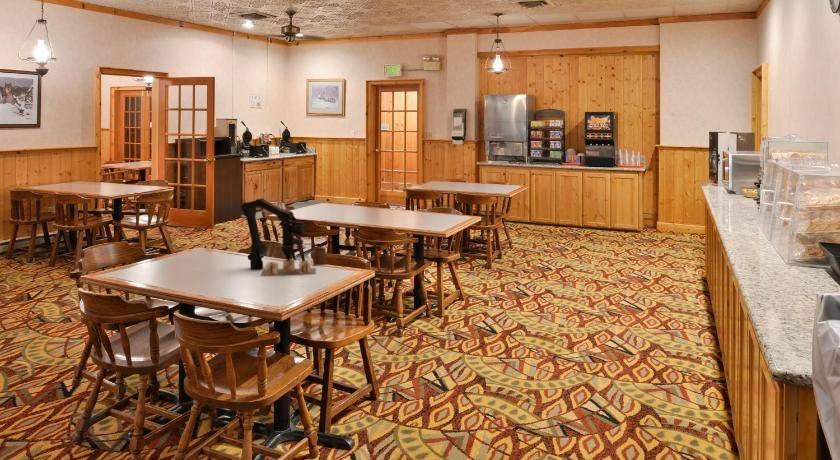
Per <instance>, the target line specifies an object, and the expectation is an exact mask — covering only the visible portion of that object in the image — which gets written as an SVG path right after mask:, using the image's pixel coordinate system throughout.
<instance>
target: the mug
mask: <svg viewBox="0 0 840 460" xmlns="http://www.w3.org/2000/svg"><path fill="white" fill-rule="evenodd" d="M310 258H311V259H312V261H313V262H312V263H313V265H317V266H321V265H322V266H323V265H326V264H327V250H326V248H324V247H318V248H317V247H316V248H313V249H312V250H311V252H310Z"/></svg>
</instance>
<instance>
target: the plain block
mask: <svg viewBox="0 0 840 460" xmlns="http://www.w3.org/2000/svg"><path fill="white" fill-rule="evenodd" d="M282 269H283V272H294V270H295V269H296V268H295V259H294V258H293V259H291V258H290V261H287V259H283V261H282Z"/></svg>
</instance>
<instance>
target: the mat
mask: <svg viewBox="0 0 840 460" xmlns="http://www.w3.org/2000/svg"><path fill="white" fill-rule="evenodd" d="M316 269H317V267H315V268H314V267H313V268H311V267H310V274H299V268H295V270H294V272H283V268H281V269H280V268H278V274H277V275H266V269H262V271H261V272H260V273H261V274H260V277H276V276H277V277H278V276H283V277H284V276H305V275H316V273H317V271H316Z"/></svg>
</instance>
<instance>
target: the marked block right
mask: <svg viewBox="0 0 840 460" xmlns="http://www.w3.org/2000/svg"><path fill="white" fill-rule="evenodd" d="M310 268H311V260H302V261H301V260H300V261H299V262H298V269H299V274H310ZM310 275H311V274H310Z"/></svg>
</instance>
